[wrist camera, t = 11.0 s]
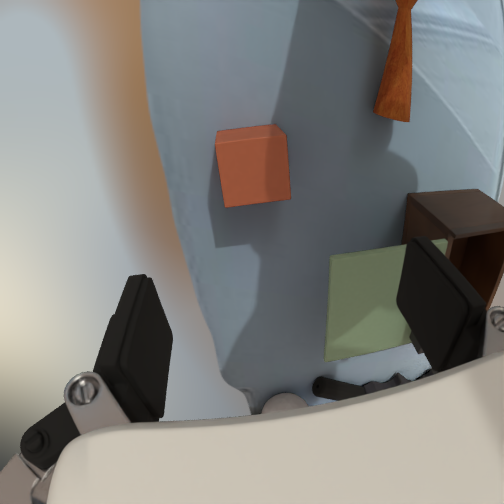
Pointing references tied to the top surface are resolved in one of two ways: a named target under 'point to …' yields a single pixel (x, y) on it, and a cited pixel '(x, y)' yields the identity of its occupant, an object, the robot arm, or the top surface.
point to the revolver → (355, 387)
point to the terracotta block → (253, 165)
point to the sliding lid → (366, 303)
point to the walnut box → (462, 233)
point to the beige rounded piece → (283, 403)
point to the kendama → (398, 69)
